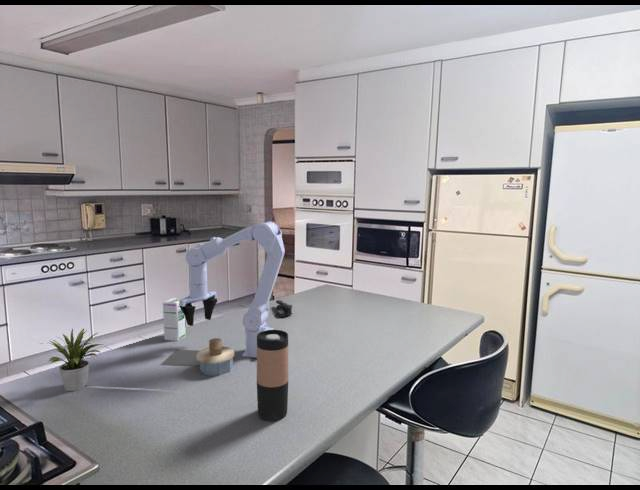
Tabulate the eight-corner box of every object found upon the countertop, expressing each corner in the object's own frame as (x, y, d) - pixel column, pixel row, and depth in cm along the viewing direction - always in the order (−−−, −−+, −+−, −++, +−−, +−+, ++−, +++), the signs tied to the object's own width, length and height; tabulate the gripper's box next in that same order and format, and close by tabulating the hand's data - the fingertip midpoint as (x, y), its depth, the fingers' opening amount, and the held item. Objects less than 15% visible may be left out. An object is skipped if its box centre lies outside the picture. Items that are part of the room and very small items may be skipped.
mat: (211, 352, 136) (211, 350, 136) (198, 368, 124) (198, 366, 124) (176, 351, 137) (176, 349, 137) (160, 366, 125) (160, 364, 125)
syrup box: (178, 342, 145) (177, 302, 143) (163, 341, 146) (162, 301, 144) (187, 336, 150) (186, 298, 149) (172, 335, 152) (171, 297, 150)
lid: (238, 349, 128) (238, 334, 127) (228, 364, 117) (228, 348, 116) (204, 348, 128) (203, 333, 128) (190, 362, 118) (190, 346, 117)
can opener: (294, 317, 176) (294, 305, 175) (278, 319, 173) (278, 306, 173) (285, 306, 192) (285, 295, 192) (270, 307, 190) (270, 296, 189)
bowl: (235, 364, 127) (235, 350, 127) (227, 377, 118) (226, 363, 118) (207, 363, 128) (206, 349, 127) (196, 376, 119) (196, 361, 118)
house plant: (57, 408, 101) (52, 344, 99) (30, 392, 108) (25, 333, 106) (112, 385, 113) (109, 328, 111) (85, 373, 120) (81, 319, 118)
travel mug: (257, 405, 103) (257, 329, 101) (288, 404, 104) (288, 329, 101) (255, 422, 96) (255, 341, 93) (288, 421, 97) (288, 340, 94)
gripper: (206, 277, 145) (207, 314, 147) (172, 285, 133) (173, 325, 134) (221, 280, 141) (221, 318, 143) (186, 288, 129) (188, 329, 131)
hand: (199, 322), depth 138 cm, fingers open, 7 cm apart
